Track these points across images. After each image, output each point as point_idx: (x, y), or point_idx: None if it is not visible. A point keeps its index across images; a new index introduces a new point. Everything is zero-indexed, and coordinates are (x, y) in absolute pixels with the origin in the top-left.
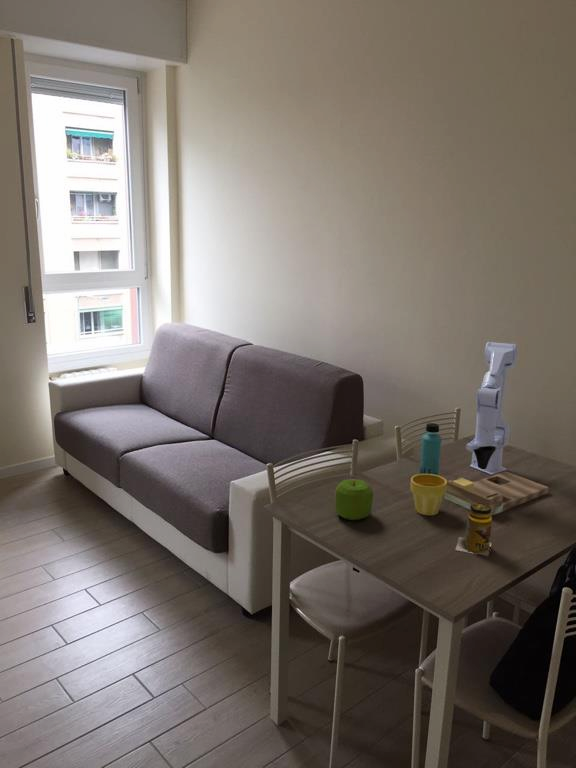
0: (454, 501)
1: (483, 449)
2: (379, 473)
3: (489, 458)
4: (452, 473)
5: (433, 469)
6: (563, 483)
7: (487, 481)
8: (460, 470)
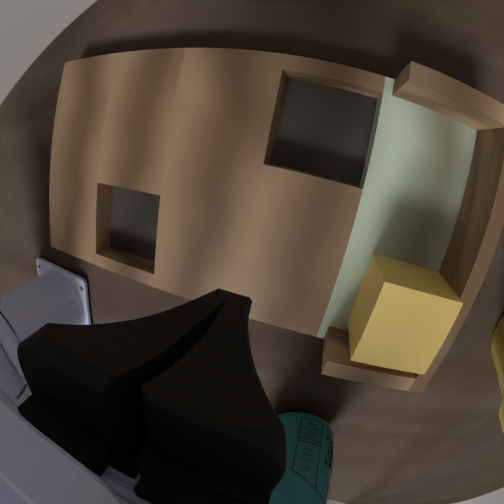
0: None
1: (218, 479)
2: None
3: (165, 318)
4: None
5: (319, 459)
6: (18, 94)
7: (165, 261)
8: None
